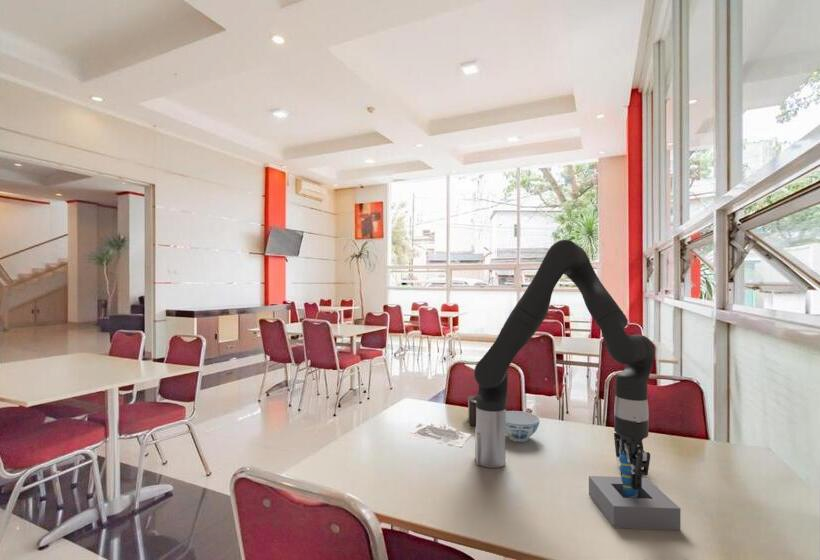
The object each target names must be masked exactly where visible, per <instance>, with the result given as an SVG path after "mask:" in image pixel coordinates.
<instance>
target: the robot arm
mask: <svg viewBox="0 0 820 560" xmlns="http://www.w3.org/2000/svg"><path fill="white" fill-rule="evenodd" d="M564 275H565V276H566V277H568V278H569V279H570V281H572V283H573V284H574V285H575V286H576V288H577V289H578V290H579V292H580V293H581V296H582V299H583V301H584V304H585V307H586V309H587V311H588V312H589V314H590V315H591V318H592V320H593V321H595V323H596V324H597V326H598V328H600V329H599V330H600V332H601V335H602V338H603V341H604V344H605V346H606V350H607V352H608V353H609V355H610V356H611V358H612V359H613V360H614V361H616V362H617V363H618V364H620V365H621V364H622V365H625V367H624V369H623V370H622V371H620V372H619V373H617V374H616V376H615V397H614V410H613V411H614V413H613V414H614V417H613V418H614V419H613V422H614V424H613V425H614V430H613V431H614V433H613V438H614V449H615V450H616V451H615V457H616V456H617V457H619V462H620V463H621V461H620V455H621V454H622V453H625V454H626V455H627V461H628V463H630V467H631V487H632V488H633V489H634V490H641V489H642V478H643V476H648V474H649V469H650V462H651V453H650V452H648V451H645V450H644V444H643V440H644V439H646V438H648V437H649V403H648V401H649V400H648V381H649V377H650V374H651V371H652V368H653V363H654V360H655V359H654V358H655V349H654V348H655V347H654V345H653V343H652V341H651V340H650V338H648V337H647V336H645V335H643V334H627V333H626V330H625V328H626V327H627V326H628V323H629V321H628V318H627V316H626V315H625V313H624V311H623V310H622V309H621V307H620V306H619V305H618V304H617V302H616V301H615V300H614V298H613V297H612V295H611V294H610V293H609V291H608V290H607V289H606V287H605V286H604V285H603V283H602V282H601V280H600V278H599V277H598V275H597V274H596V271H595V269H594V267H593V266H592V263H591V261H590V259H589V256H588V255H587V252H586V251H585V250H584V249H583V248H582V247H580V246H579V245H578V244H577V243H575V242H574V241H573V240H571V239H568V238H562V239H558V240H557V241H555V242H554V243H552V245H551V246H550V248H549V249H548V250H547V252H546V253H545V256H544V257H543V259H542V261H541V263H540V265H539V268H538V270H537V271H536V273H535V274H534V277H533V278H532V280H531V281H530V283H529V285H528V286H527V288H526V290H525V291H524V293H523V294H522V296H521V297H520V299H519V300H518V301H517V303H516V305H515V306H514V307H513V309H512V310H511V312H510V313H509V316H508V317H507V319H506V320H505V322H504V324H503V326H502V327H501V330H500V331H499V333H498V336H497V337H496V338H495V341H494V342H493V344H492V345H491V346H490V348H489V349H488V351H486V352H485V354H484V355H483V357H482V358H480V359H479V361H478V362H477V363H476V365H475V368H474V372H473V373H474V374H473V376H474V380H475V381H476V383H477V385H478V389H477V394H476V395H477V398H476V426H475V428H474V429H475V430H474V458H475V463H476V466H481V467H486V468H490V469H491V468H492V469H496V468H497V469H498V468H503V467H504V466H505V465H506V459H507V458H506V457H507V455H506V449H507V447H506V443H507V442H506V439H507V438H506V437H507V434H506V411H507V409H506V407H507V404H506V403H507V399H508V376H509V375H508V369H509V367H510V365H511V364H512V362H513V360H514V359H515V357H516V356H517V354H518V353H519V352H520V351H521V350H522V349H523V347H525V346H526V345H527V343H528V342H529V341H530V340H531V339H532V337H534V335H535V333H536V332H537V331H538V330H539V328H540V326H541V325H542V324H543V322H544V321H545V319H546V317H547V315H548V312H549V309H550V304H551V301H552V300H551V299H552V295H553V292H554V290H555V287H556V285H557V284H558V282H559V281H560V279H561V278H562V277H563V276H564ZM632 458H636V460H632ZM634 464H636V466H634ZM621 476H622V473H621V472H620V477H621Z"/></svg>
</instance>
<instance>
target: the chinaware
mask: <svg viewBox="0 0 820 560" xmlns="http://www.w3.org/2000/svg"><path fill="white" fill-rule="evenodd" d="M540 421H541V419H540V417H539V416H538V415H536V414H535V413H534V414H533V413H531V412H527V411H521V410H506V436H508V438H509V440H511V441H513V442H520V443H521V442H526V441H528V440H529V438H530V437H532V436H533V435H534V434H535V433H536V432H537V430H538V428H539V425H540Z"/></svg>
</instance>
